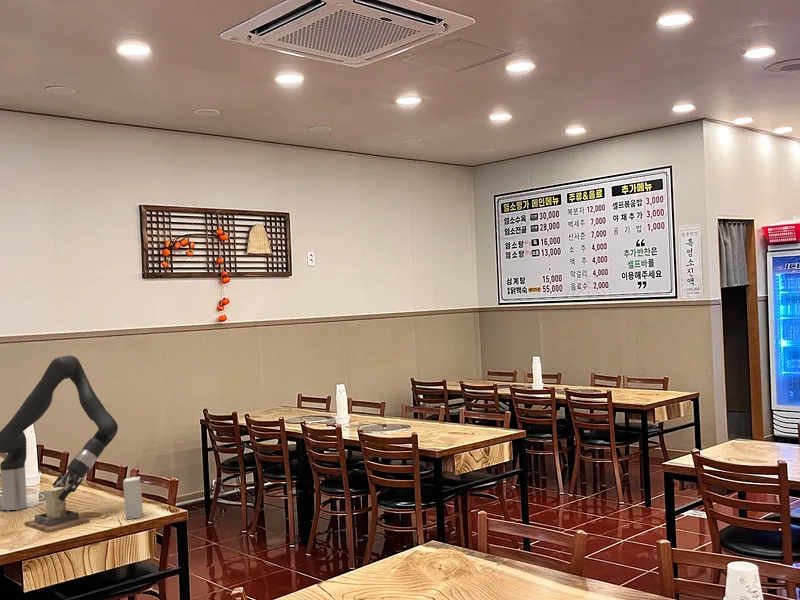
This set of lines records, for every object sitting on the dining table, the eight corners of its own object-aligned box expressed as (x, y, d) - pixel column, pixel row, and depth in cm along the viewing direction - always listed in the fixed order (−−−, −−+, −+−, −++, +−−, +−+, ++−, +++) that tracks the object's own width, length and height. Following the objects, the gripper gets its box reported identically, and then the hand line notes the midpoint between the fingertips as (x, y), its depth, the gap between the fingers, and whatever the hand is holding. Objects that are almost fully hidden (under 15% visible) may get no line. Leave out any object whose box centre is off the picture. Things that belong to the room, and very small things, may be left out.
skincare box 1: (56, 522, 301) (54, 490, 301) (46, 522, 302) (44, 490, 302) (67, 518, 307) (65, 486, 307) (57, 518, 308) (55, 486, 308)
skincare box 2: (141, 518, 305) (139, 479, 306) (124, 520, 304) (122, 481, 304) (143, 513, 314) (141, 475, 314) (127, 514, 312) (125, 477, 312)
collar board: (24, 525, 304) (23, 515, 304) (64, 515, 317) (64, 506, 317) (48, 532, 291) (47, 522, 291) (89, 522, 303) (89, 512, 303)
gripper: (66, 456, 315) (39, 491, 307) (84, 459, 306) (56, 495, 297) (80, 467, 319) (53, 501, 311) (98, 470, 310) (71, 506, 301)
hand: (55, 498), depth 304 cm, fingers open, 8 cm apart
